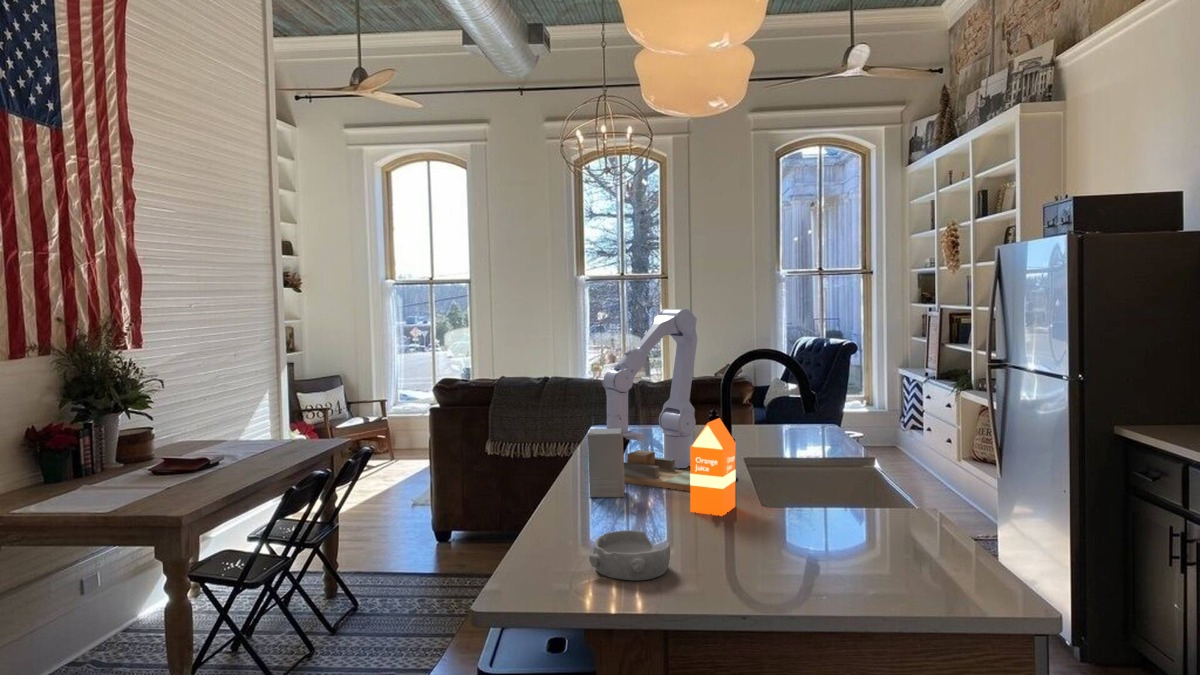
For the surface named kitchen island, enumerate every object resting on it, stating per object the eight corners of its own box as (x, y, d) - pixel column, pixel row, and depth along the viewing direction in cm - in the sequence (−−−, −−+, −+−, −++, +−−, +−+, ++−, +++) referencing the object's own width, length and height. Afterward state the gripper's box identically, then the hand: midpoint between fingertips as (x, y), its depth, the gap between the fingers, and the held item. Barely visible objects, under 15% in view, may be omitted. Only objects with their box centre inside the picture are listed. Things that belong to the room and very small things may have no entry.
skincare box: (625, 491, 192) (624, 427, 191) (623, 499, 185) (622, 432, 184) (590, 491, 192) (590, 427, 192) (587, 498, 185) (587, 432, 185)
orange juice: (689, 511, 174) (689, 422, 173) (703, 502, 181) (703, 416, 180) (723, 516, 170) (723, 424, 169) (736, 506, 178) (736, 418, 177)
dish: (624, 551, 148) (624, 525, 147) (686, 567, 139) (686, 539, 139) (573, 572, 136) (573, 544, 136) (637, 591, 128) (637, 560, 127)
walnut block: (638, 468, 210) (638, 450, 210) (654, 470, 207) (654, 451, 207) (627, 472, 205) (627, 454, 205) (644, 475, 202) (644, 455, 202)
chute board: (630, 469, 216) (630, 453, 216) (711, 479, 204) (711, 462, 203) (604, 480, 204) (604, 463, 203) (689, 491, 192) (689, 473, 191)
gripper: (586, 414, 209) (586, 465, 210) (634, 418, 202) (634, 471, 203) (599, 411, 215) (600, 460, 216) (647, 415, 208) (647, 465, 209)
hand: (617, 465), depth 210 cm, fingers closed
